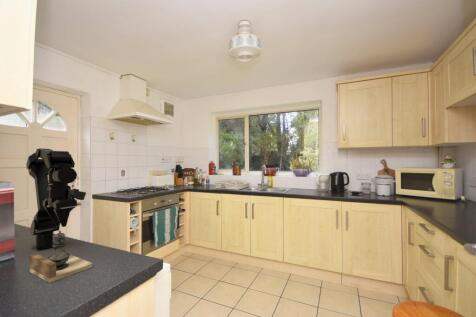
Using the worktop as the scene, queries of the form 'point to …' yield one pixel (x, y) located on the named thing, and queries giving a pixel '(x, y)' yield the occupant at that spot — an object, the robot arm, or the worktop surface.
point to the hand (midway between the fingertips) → (60, 225)
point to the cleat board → (68, 270)
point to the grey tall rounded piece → (59, 252)
